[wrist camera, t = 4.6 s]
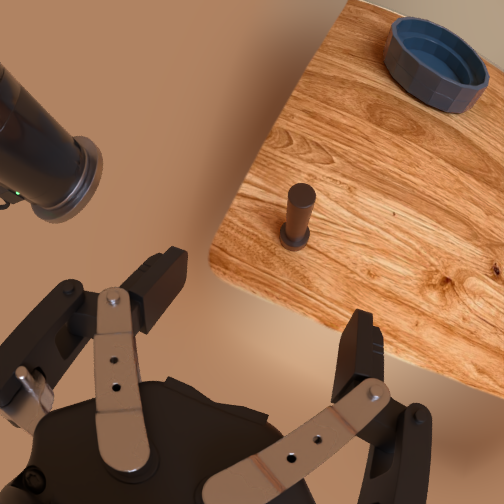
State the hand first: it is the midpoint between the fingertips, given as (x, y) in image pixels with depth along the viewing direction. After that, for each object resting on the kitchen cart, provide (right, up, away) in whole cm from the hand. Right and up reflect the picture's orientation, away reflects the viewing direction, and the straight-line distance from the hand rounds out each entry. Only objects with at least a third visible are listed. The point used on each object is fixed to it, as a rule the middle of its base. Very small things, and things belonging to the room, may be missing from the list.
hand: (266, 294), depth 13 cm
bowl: (+23, +25, +16) cm, 37 cm away
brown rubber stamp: (+3, +3, +12) cm, 13 cm away
